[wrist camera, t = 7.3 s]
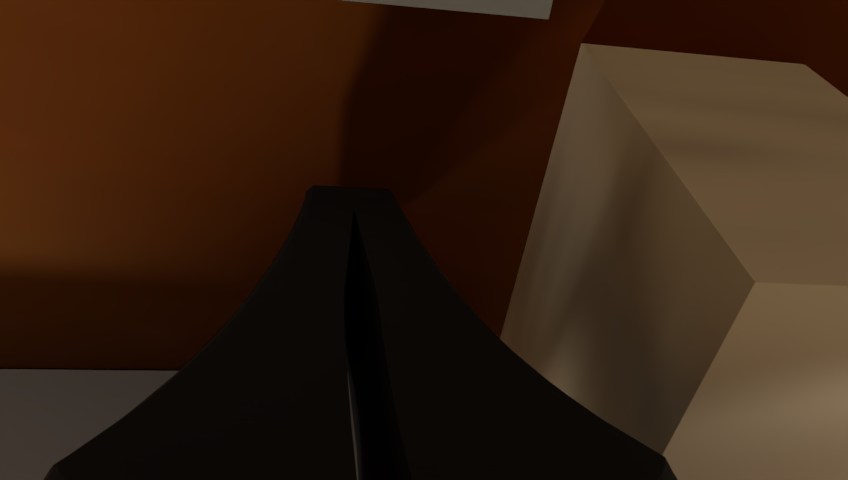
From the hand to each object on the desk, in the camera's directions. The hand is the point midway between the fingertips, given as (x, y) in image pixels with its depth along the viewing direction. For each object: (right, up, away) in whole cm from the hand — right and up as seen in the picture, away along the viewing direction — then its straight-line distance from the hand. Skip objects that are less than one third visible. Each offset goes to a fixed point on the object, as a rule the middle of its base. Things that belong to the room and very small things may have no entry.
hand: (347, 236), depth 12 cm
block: (+5, 0, +2) cm, 6 cm away
